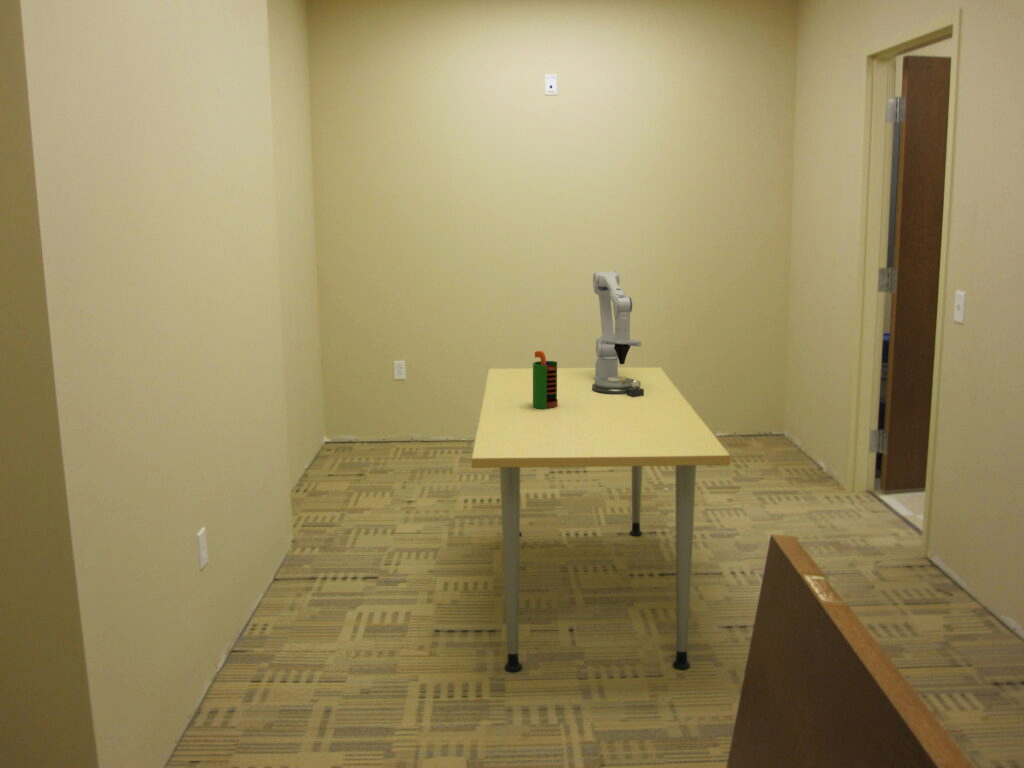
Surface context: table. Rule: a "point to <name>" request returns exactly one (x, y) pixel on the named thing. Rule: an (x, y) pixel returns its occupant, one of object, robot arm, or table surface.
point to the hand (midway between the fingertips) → (622, 363)
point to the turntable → (614, 382)
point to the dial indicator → (635, 389)
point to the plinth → (608, 390)
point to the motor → (544, 382)
